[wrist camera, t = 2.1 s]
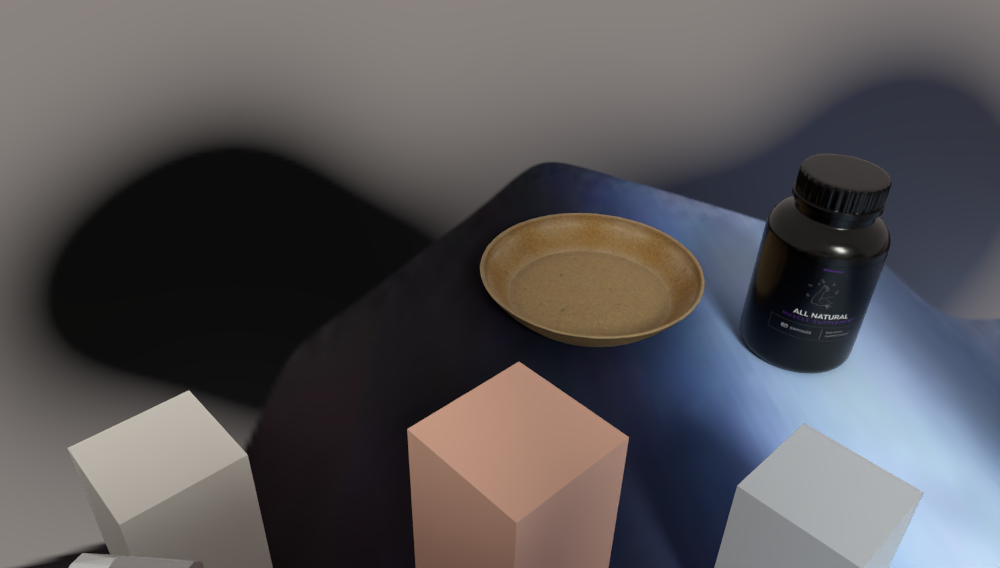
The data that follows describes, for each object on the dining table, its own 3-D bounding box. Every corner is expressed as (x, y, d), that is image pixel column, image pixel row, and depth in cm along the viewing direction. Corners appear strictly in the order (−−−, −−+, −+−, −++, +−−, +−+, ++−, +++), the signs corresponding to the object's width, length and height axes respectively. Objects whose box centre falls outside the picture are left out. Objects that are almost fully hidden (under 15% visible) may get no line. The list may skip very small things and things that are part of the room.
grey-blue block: (763, 546, 38) (804, 423, 33) (864, 616, 35) (923, 492, 30) (702, 610, 35) (737, 485, 31) (806, 693, 32) (862, 569, 28)
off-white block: (221, 514, 39) (189, 390, 34) (275, 580, 36) (247, 454, 31) (118, 574, 36) (67, 448, 31) (167, 652, 33) (119, 524, 28)
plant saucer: (657, 400, 46) (664, 366, 45) (438, 324, 52) (438, 291, 50) (723, 276, 57) (729, 245, 56) (536, 224, 63) (538, 194, 61)
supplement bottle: (792, 390, 47) (847, 211, 40) (715, 326, 52) (753, 157, 45) (875, 358, 50) (939, 184, 43) (795, 300, 55) (841, 136, 48)
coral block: (508, 585, 36) (519, 361, 29) (593, 664, 33) (629, 437, 26) (421, 657, 33) (407, 429, 26) (505, 750, 30) (516, 522, 23)
